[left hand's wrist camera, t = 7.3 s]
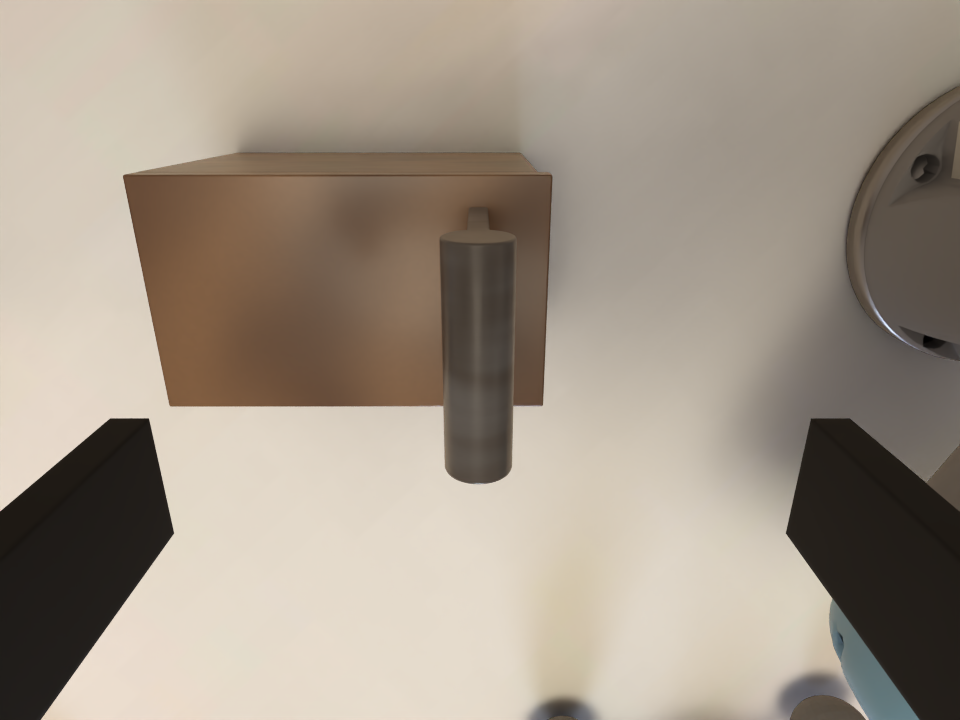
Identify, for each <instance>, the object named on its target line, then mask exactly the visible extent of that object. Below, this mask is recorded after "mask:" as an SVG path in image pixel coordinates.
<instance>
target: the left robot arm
mask: <svg viewBox="0 0 960 720" xmlns="http://www.w3.org/2000/svg"><path fill="white" fill-rule="evenodd" d="M846 251H847V265H848V271H849V276H850V280H851V283H852V287H853V289H854V292H855V294H856V296H857V298H858V300H859V302H860V304H861V305H862V307H863V309H864V310H865V311H866V313H867V314H868V315H869V317H870V318H871V319H872V320H873V321H874V322H875V323H876V324H877V325H878V326H880V327H881V328H882V329H883V330H885V331H886V332H887V333H889V334H891V335H892V336H894V337H895V338H897V339H899V340H901V341H903V342H904V343H906V344H908V345H910V346H911V347H913V348H915V349H918V350H920V351H922V352H924V353H927V354H930V355H933V356H936V357H941V358H945V359H951V360H957V361H960V86H959V87H957V88H955V89H953V90H951V91H950V92H948V93H946V94H944V95H943V96H941V97H939V98H938V99H936V100H935V101H934V102H932V103H931V104H929V105H928V106H926V107H925V108H924V109H923V110H921V111H920V112H919V113H918V114H917V115H915V116H914V117H913V118H912V119H911V120H910V121H909V122H908V123H907V124H906V125H905V126H904V127H902V128H901V129H900V131H899V132H898V133H897V134H896V135H895V136H894V137H893V138H892V139H891V141H890V142H889V143H888V144H887V146H886V147H885V148H884V149H883V151H882V152H881V153H880V155H879V156H878V158H877V159H876V161H875V162H874V164H873V165H872V167H871V169H870V170H869V172H868V174H867V176H866V178H865V180H864V182H863V184H862V186H861V188H860V191H859V193H858V195H857V198H856V201H855V204H854V207H853V210H852V214H851V218H850V222H849V228H848V235H847V250H846ZM173 534H174V531H173V526H172V522H171V517H170V513H169V508H168V504H167V499H166V494H165V490H164V485H163V481H162V476H161V472H160V467H159V462H158V458H157V453H156V449H155V444H154V440H153V435H152V430H151V426H150V421H149V419H109V420H108V421H107V422H106V423H104V424H103V425H102V426H101V427H100V428H98V429H97V430H96V431H95V432H94V433H93V434H91V435H90V436H89V437H88V438H87V439H85V440H84V441H83V442H82V443H81V444H80V445H78V446H77V447H76V448H75V449H74V450H72V451H71V452H70V453H69V454H68V455H67V456H65V457H64V458H63V459H62V460H61V461H59V462H58V463H57V464H56V465H55V466H54V467H52V468H51V469H50V470H49V471H48V472H46V473H45V474H44V475H43V476H42V477H41V478H39V479H38V480H37V481H36V482H35V483H33V484H32V485H31V486H30V487H29V488H28V489H26V490H25V491H24V492H23V493H22V494H20V495H19V496H18V497H17V498H16V499H15V500H13V501H12V502H11V503H10V504H9V505H7V506H6V507H5V508H4V509H3V510H2V511H0V720H41V719H42V717H43V716H44V714H45V713H46V712H47V710H48V709H49V707H50V706H51V705H52V703H53V702H54V700H55V699H56V698H57V696H58V695H59V693H60V692H61V691H62V689H63V688H64V686H65V685H66V684H67V682H68V681H69V679H70V678H71V677H72V675H73V674H74V672H75V671H76V670H77V668H78V667H79V665H80V664H81V663H82V661H83V660H84V658H85V657H86V656H87V654H88V653H89V651H90V650H91V649H92V647H93V646H94V644H95V643H96V642H97V640H98V639H99V637H100V636H101V635H102V633H103V632H104V630H105V629H106V628H107V626H108V625H109V624H110V622H111V621H112V619H113V618H114V617H115V615H116V614H117V612H118V611H119V610H120V608H121V607H122V605H123V604H124V603H125V601H126V600H127V598H128V597H129V596H130V594H131V593H132V591H133V590H134V589H135V587H136V586H137V584H138V583H139V582H140V580H141V579H142V577H143V576H144V575H145V573H146V572H147V570H148V569H149V568H150V566H151V565H152V563H153V562H154V561H155V559H156V558H157V556H158V555H159V554H160V552H161V551H162V549H163V548H164V547H165V545H166V544H167V542H168V541H169V540H170V538H171V537H172V535H173ZM786 534H787V535H788V537H789V538H790V540H791V541H792V542H793V544H794V545H795V547H796V548H797V549H798V551H799V552H800V554H801V555H802V556H803V558H804V559H805V561H806V562H807V563H808V565H809V566H810V568H811V569H812V570H813V572H814V573H815V575H816V576H817V577H818V579H819V580H820V582H821V583H822V584H823V586H824V587H825V589H826V590H827V591H828V593H829V594H830V596H831V597H832V598H833V599H832V602H831V606H830V614H829V624H830V633H831V636H832V640H833V646H834V649H835V651H836V653H837V655H838V657H839V659H840V662H841V667H842V669H843V673H844V675H845V678H846V680H847V682H848V684H849V686H850V687H851V689H852V691H853V693H854V695H855V697H856V699H857V700H858V702H859V704H860V705H861V707H862V709H863V710H864V712H865V714H866V715H867V717H868V718H869V720H960V445H959V446H958V447H957V448H956V450H955V451H954V452H953V453H952V454H951V455H950V456H949V458H948V459H947V460H946V461H945V462H944V463H943V464H942V466H941V467H940V468H939V469H938V470H937V471H936V473H935V474H934V475H933V476H932V477H931V478H930V479H929V481H928V482H927V483H925V482H924V481H923V480H922V479H921V478H919V477H918V476H917V475H916V474H915V473H914V472H912V471H911V470H910V469H909V468H908V467H906V466H905V465H904V464H903V463H902V462H901V461H899V460H898V459H897V458H896V457H895V456H893V455H892V454H891V453H890V452H889V451H888V450H886V449H885V448H884V447H883V446H882V445H880V444H879V443H878V442H877V441H876V440H875V439H873V438H872V437H871V436H870V435H869V434H867V433H866V432H865V431H864V430H863V429H862V428H860V427H859V426H858V425H857V424H856V423H854V422H853V421H852V420H851V419H811V421H810V426H809V430H808V435H807V440H806V444H805V449H804V453H803V458H802V462H801V467H800V472H799V476H798V481H797V485H796V490H795V494H794V499H793V504H792V508H791V513H790V517H789V522H788V526H787V531H786Z"/></svg>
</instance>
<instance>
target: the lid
mask: <svg viewBox="0 0 960 720" xmlns="http://www.w3.org/2000/svg"><path fill="white" fill-rule="evenodd" d="M123 179H124V184H125V189H126V193H127V198H128V203H129V208H130V213H131V218H132V223H133V228H134V233H135V238H136V243H137V247H138V252H139V257H140V262H141V267H142V272H143V277H144V282H145V287H146V292H147V297H148V302H149V306H150V311H151V316H152V321H153V326H154V331H155V336H156V341H157V346H158V351H159V356H160V360H161V365H162V370H163V375H164V380H165V385H166V390H167V395H168V400H169V405H170V406H444V447H445V468H446V471H447V472H448V474H449V475H450V476H451V477H453V478H454V479H456V480H458V481H461V482H465V483H470V484H487V483H492V482H496V481H498V480H500V479H502V478H504V477H505V476H507V475H508V474H509V472H510V470H511V468H512V438H513V406H542V405H543V392H544V368H545V344H546V319H547V295H548V270H549V246H550V222H551V197H552V175H551V174H550V173H549V172H136V173H131V174H126V175H123Z"/></svg>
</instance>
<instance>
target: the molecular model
mask: <svg viewBox="0 0 960 720" xmlns="http://www.w3.org/2000/svg"><path fill="white" fill-rule="evenodd" d="M548 720H578V719H576V718H573V717H569V716H556V717H552V718H550V719H548ZM790 720H866V719H865V718H864V717H863V716H862V714H861V713H860V712H859V711H858V710H856V709H855V708H854V707H853V706H851V705H850V704H848V703H847V702H845V701H843V700H841V699H839V698H835V697H832V696H826V695H819V696H812V697H809V698H807V699H805V700H803V701H802V702H801V703H800V704H799V705H798V706H797V707H796V708H795V709H794V711H793V713H792V716H791V718H790Z"/></svg>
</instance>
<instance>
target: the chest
mask: <svg viewBox="0 0 960 720" xmlns="http://www.w3.org/2000/svg"><path fill="white" fill-rule="evenodd" d="M141 172H537V171H536V170H535V169H534V167H533V166H532V165H531V164H530V163H529V162H528V161H527V160H526V158H525V157H524V156H523V155H522V154H521V153H234V154H228V155H223V156H218V157H213V158H208V159H202V160H197V161H192V162H187V163H182V164H177V165H171V166H166V167H161V168H156V169H151V170H146V171H141Z"/></svg>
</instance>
